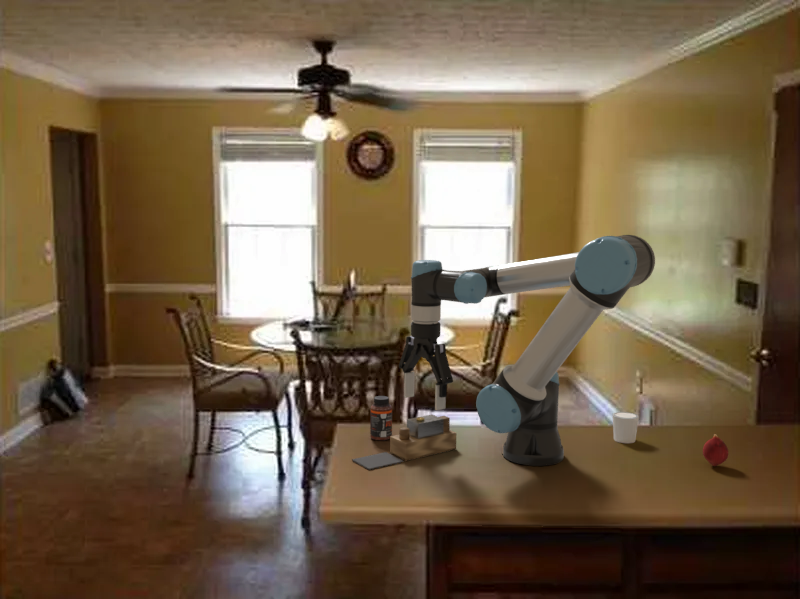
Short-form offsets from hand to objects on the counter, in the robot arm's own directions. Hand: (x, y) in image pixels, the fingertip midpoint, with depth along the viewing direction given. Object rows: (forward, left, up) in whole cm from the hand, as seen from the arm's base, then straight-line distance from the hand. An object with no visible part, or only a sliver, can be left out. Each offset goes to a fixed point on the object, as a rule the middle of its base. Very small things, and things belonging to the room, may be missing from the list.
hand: (424, 403), depth 198 cm
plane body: (0, 0, -13) cm, 13 cm away
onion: (-49, -53, -13) cm, 73 cm away
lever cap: (0, 0, -8) cm, 8 cm away
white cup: (-23, -51, -13) cm, 57 cm away
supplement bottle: (+15, +3, -13) cm, 20 cm away
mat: (0, +14, -13) cm, 19 cm away
